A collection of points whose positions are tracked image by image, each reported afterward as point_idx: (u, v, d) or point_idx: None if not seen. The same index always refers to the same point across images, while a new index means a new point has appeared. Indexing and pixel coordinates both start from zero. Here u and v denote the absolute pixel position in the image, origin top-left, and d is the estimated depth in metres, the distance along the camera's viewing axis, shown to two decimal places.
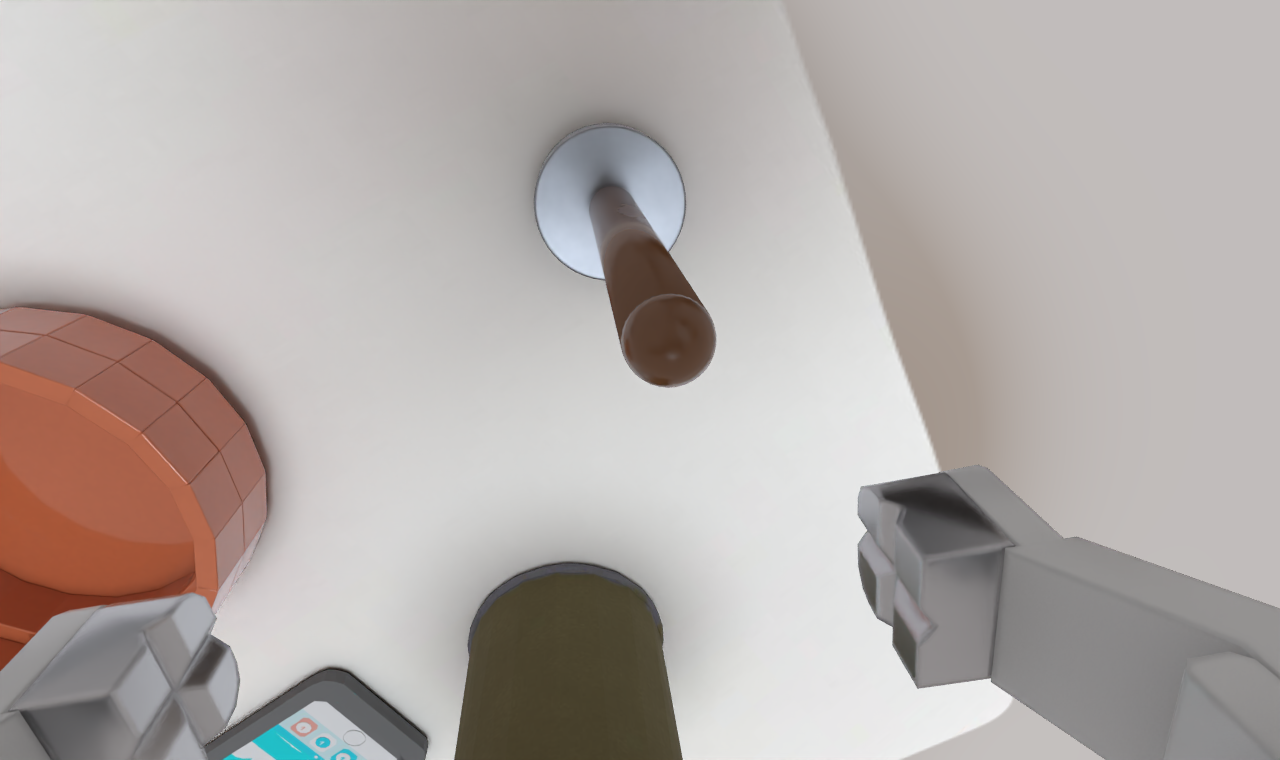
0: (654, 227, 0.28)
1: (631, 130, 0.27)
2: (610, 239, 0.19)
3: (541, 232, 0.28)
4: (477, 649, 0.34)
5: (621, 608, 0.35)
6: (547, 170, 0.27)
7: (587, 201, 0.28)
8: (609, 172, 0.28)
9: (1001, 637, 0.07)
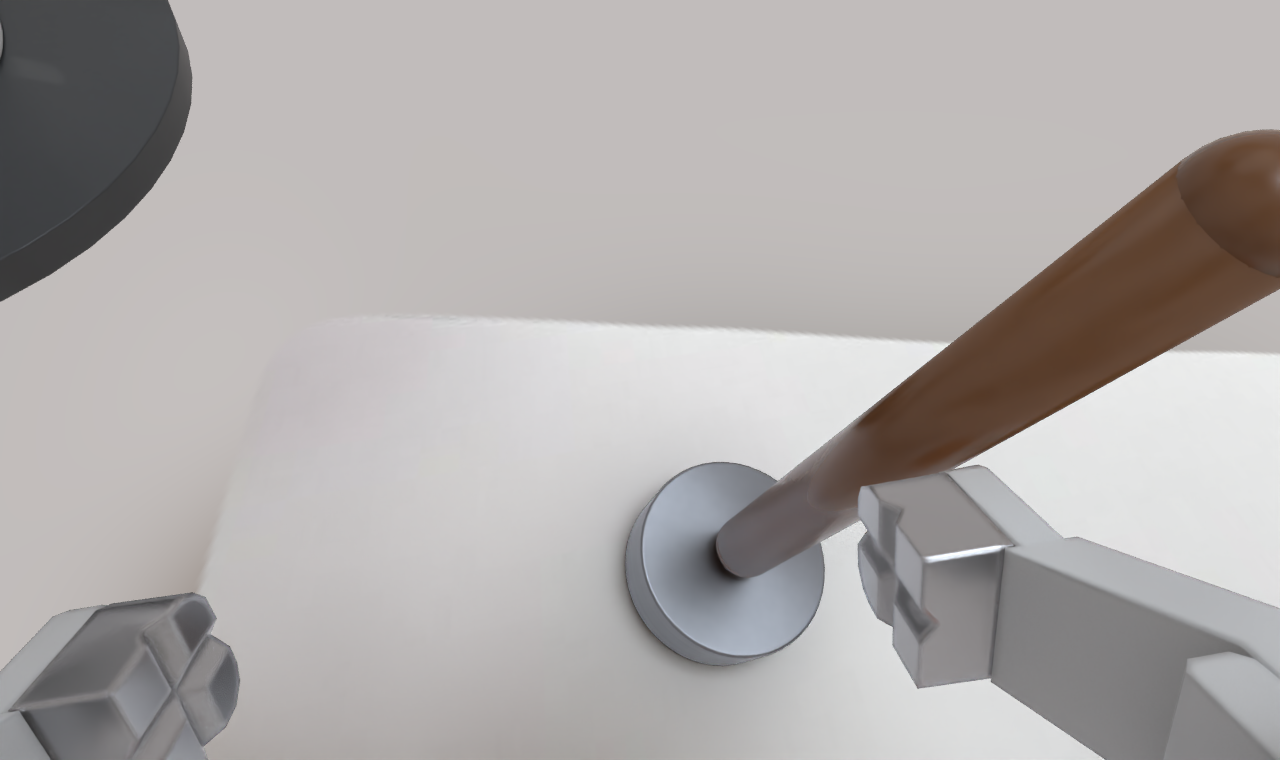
0: None
1: (661, 491, 0.22)
2: (882, 446, 0.13)
3: (738, 655, 0.20)
4: None
5: None
6: (668, 609, 0.20)
7: (720, 578, 0.21)
8: (697, 536, 0.22)
9: (1001, 637, 0.07)
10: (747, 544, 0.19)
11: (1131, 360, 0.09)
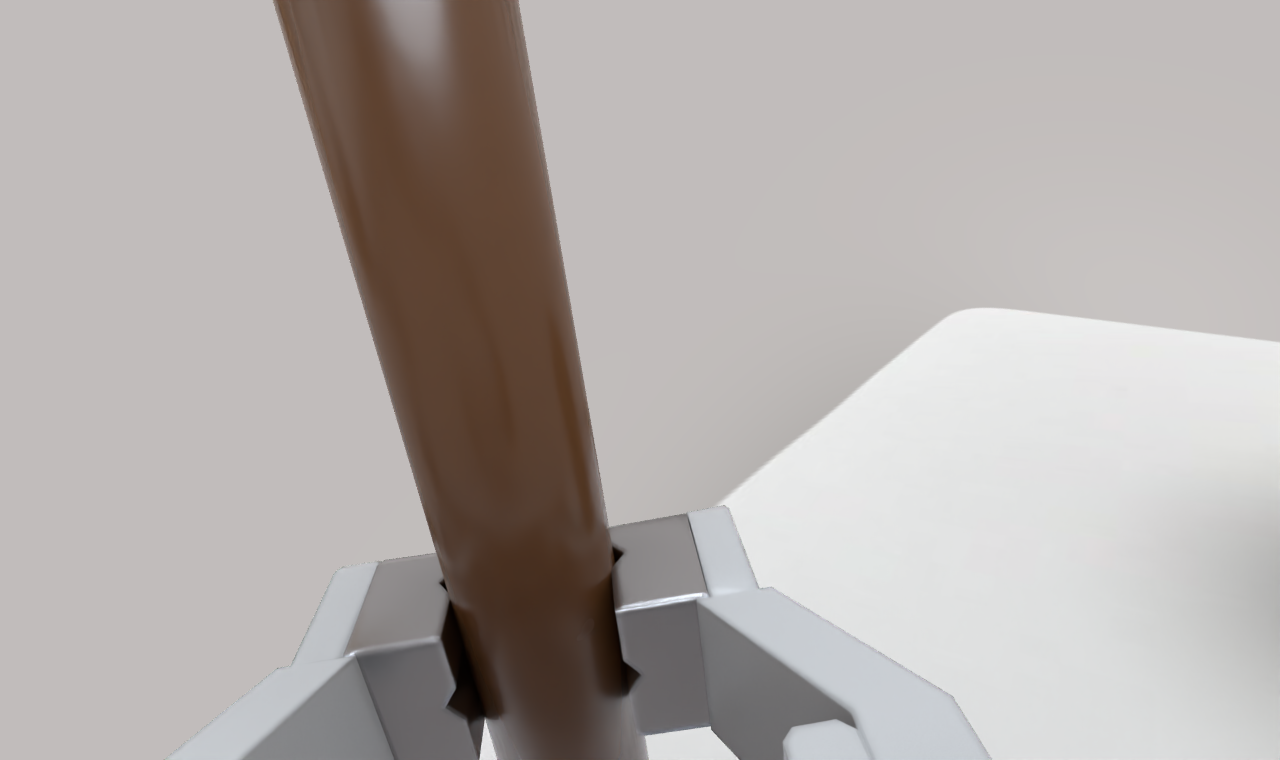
0: None
1: None
2: (473, 577, 0.07)
3: None
4: None
5: None
6: None
7: None
8: None
9: (709, 687, 0.07)
10: None
11: (469, 42, 0.05)
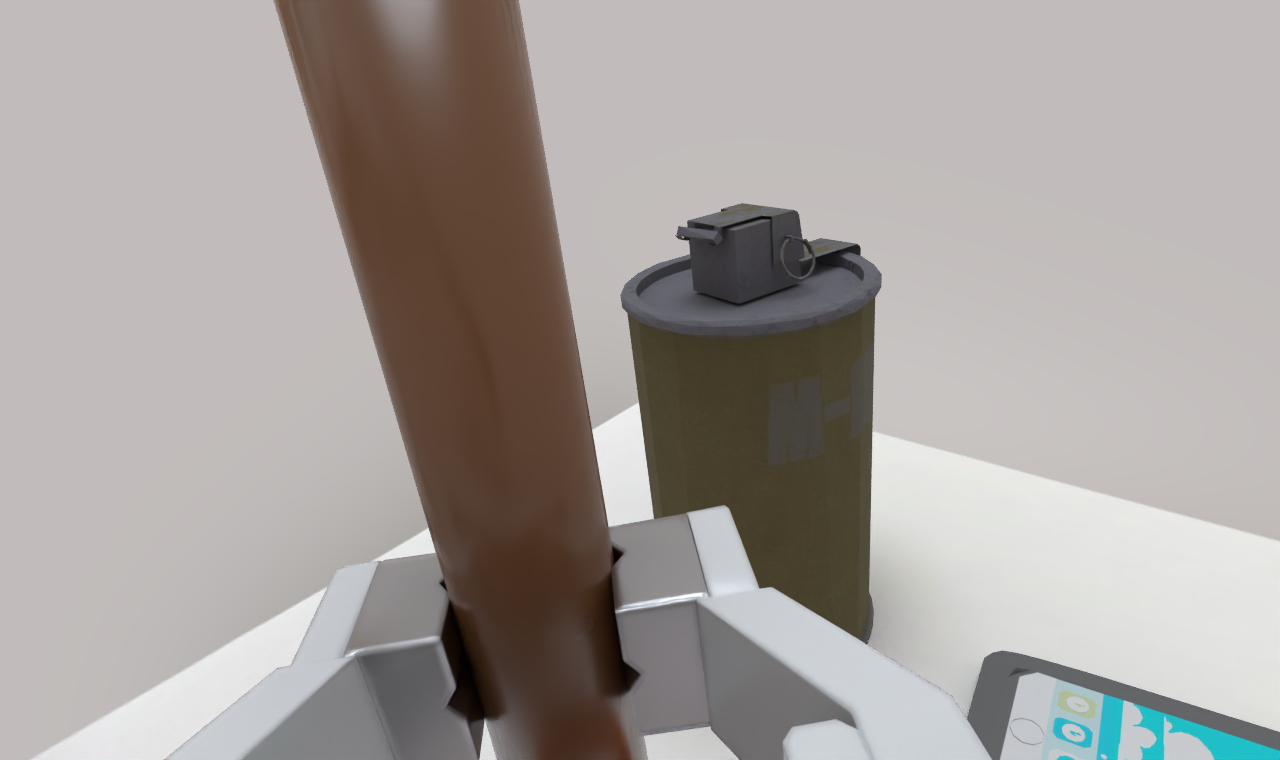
0: None
1: None
2: (472, 576, 0.07)
3: None
4: None
5: None
6: None
7: None
8: None
9: (709, 687, 0.07)
10: None
11: (469, 41, 0.05)
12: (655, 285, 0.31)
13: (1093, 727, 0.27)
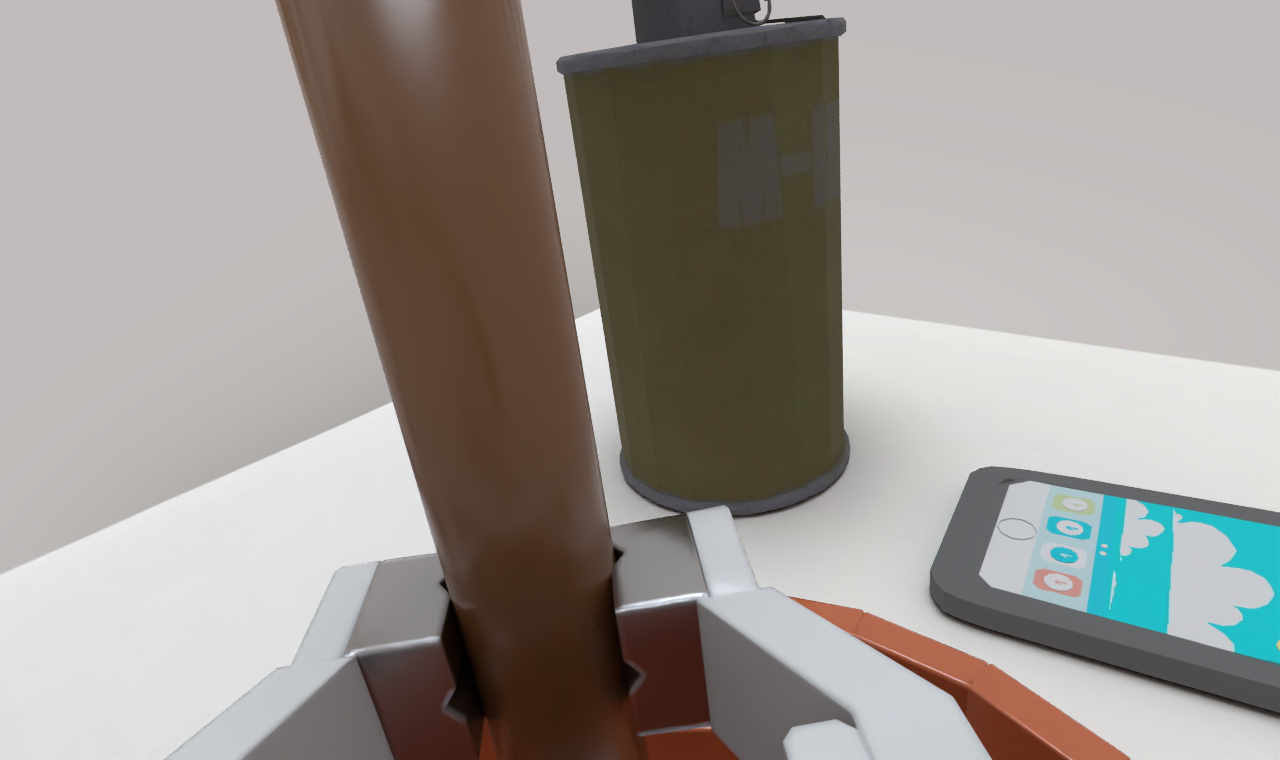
0: None
1: None
2: (474, 577, 0.07)
3: None
4: (720, 451, 0.27)
5: None
6: None
7: None
8: None
9: (709, 687, 0.07)
10: None
11: (471, 41, 0.05)
12: None
13: (1092, 522, 0.24)
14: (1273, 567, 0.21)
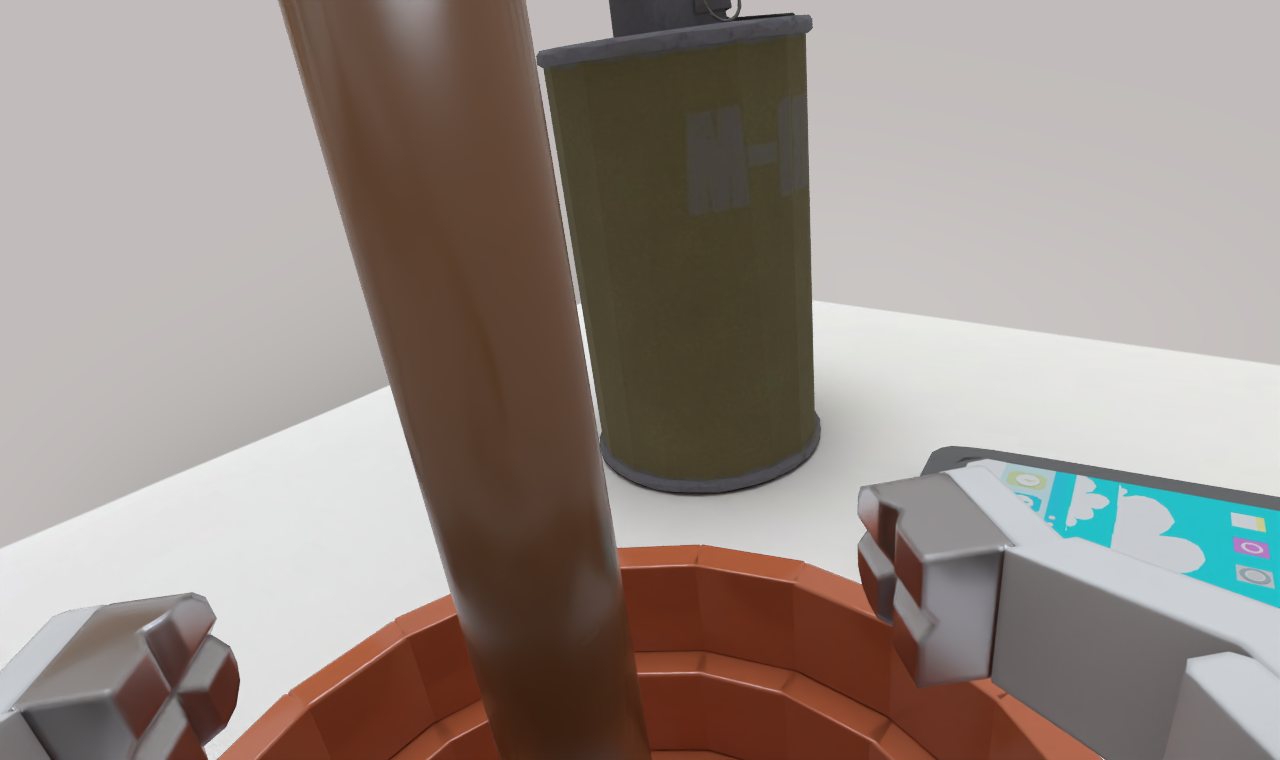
0: None
1: None
2: (477, 582, 0.07)
3: None
4: (693, 430, 0.28)
5: None
6: None
7: None
8: None
9: (1001, 637, 0.07)
10: None
11: (476, 42, 0.05)
12: None
13: (1042, 496, 0.25)
14: (1207, 536, 0.22)
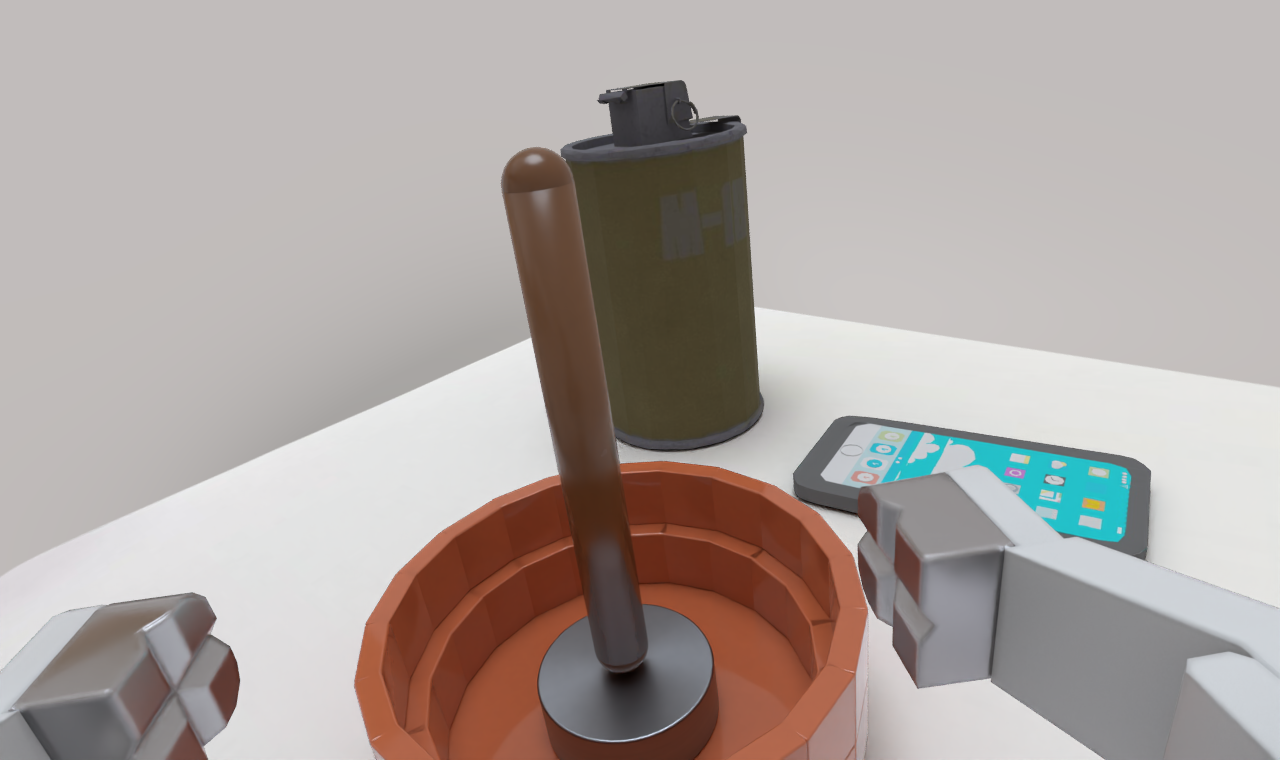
0: None
1: (538, 679, 0.24)
2: (565, 430, 0.19)
3: (685, 714, 0.22)
4: (669, 405, 0.41)
5: None
6: (609, 736, 0.21)
7: (628, 686, 0.23)
8: (589, 680, 0.24)
9: (1001, 637, 0.07)
10: (605, 621, 0.22)
11: (572, 263, 0.18)
12: (589, 149, 0.42)
13: (898, 446, 0.38)
14: (991, 467, 0.35)
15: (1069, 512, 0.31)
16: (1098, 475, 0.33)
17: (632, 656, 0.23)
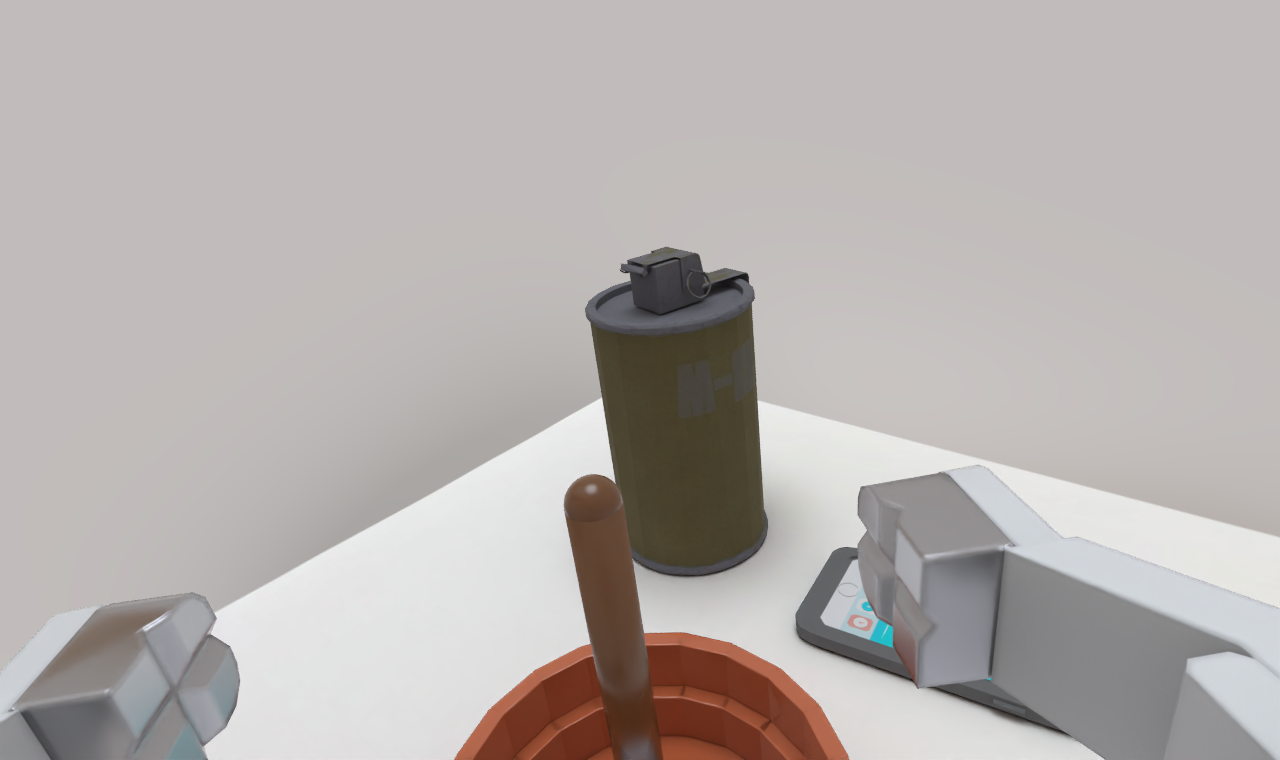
0: None
1: None
2: (610, 682, 0.23)
3: None
4: (682, 537, 0.45)
5: None
6: None
7: None
8: None
9: (1001, 637, 0.07)
10: None
11: (621, 566, 0.22)
12: (610, 301, 0.46)
13: None
14: None
15: None
16: None
17: None
